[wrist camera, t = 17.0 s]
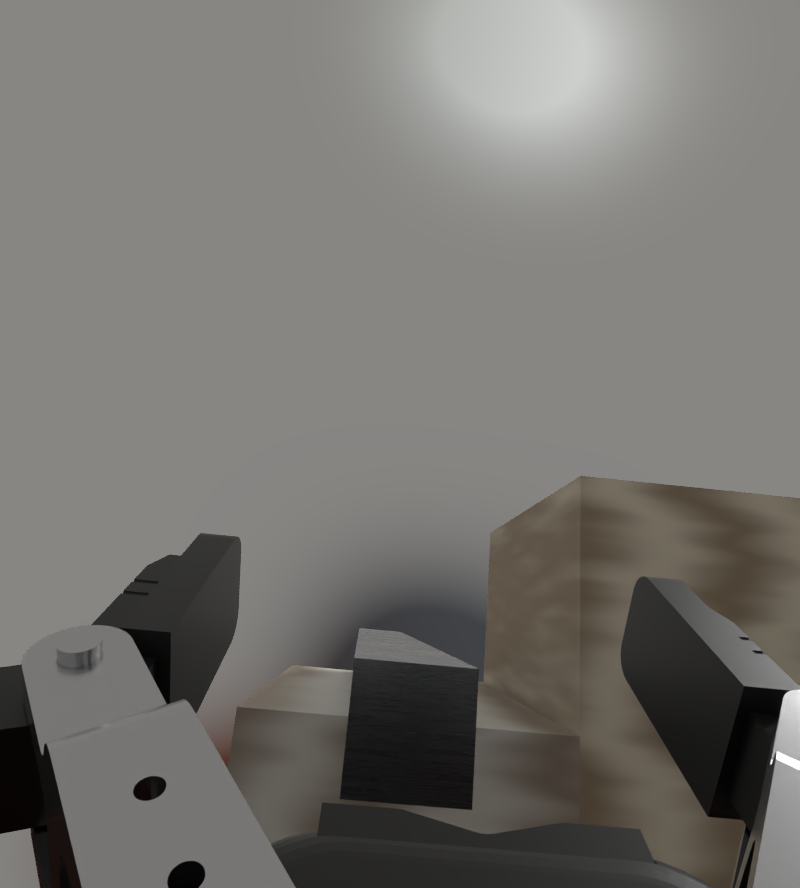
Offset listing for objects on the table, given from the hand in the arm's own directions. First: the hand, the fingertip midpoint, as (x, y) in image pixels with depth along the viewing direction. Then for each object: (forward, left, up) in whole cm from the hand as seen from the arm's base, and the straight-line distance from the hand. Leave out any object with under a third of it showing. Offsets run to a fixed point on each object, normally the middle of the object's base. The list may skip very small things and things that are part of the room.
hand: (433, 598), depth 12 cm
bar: (0, -18, -4) cm, 18 cm away
